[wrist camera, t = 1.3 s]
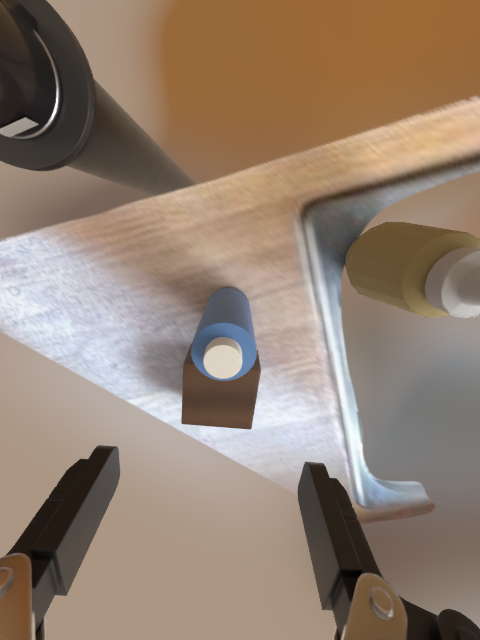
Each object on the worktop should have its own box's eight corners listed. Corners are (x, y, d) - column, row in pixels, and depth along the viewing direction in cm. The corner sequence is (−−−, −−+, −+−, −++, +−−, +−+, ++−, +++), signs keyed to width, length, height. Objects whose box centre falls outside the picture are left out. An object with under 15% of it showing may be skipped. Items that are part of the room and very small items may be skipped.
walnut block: (191, 343, 33) (183, 362, 29) (257, 350, 34) (261, 369, 29) (188, 398, 37) (181, 424, 32) (249, 403, 37) (251, 429, 32)
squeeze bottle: (387, 206, 28) (619, 177, 11) (413, 267, 30) (636, 320, 13) (322, 249, 29) (438, 280, 12) (352, 303, 32) (482, 391, 15)
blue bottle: (208, 285, 31) (188, 326, 18) (252, 289, 31) (262, 333, 18) (206, 325, 33) (185, 388, 20) (247, 329, 33) (253, 394, 20)
